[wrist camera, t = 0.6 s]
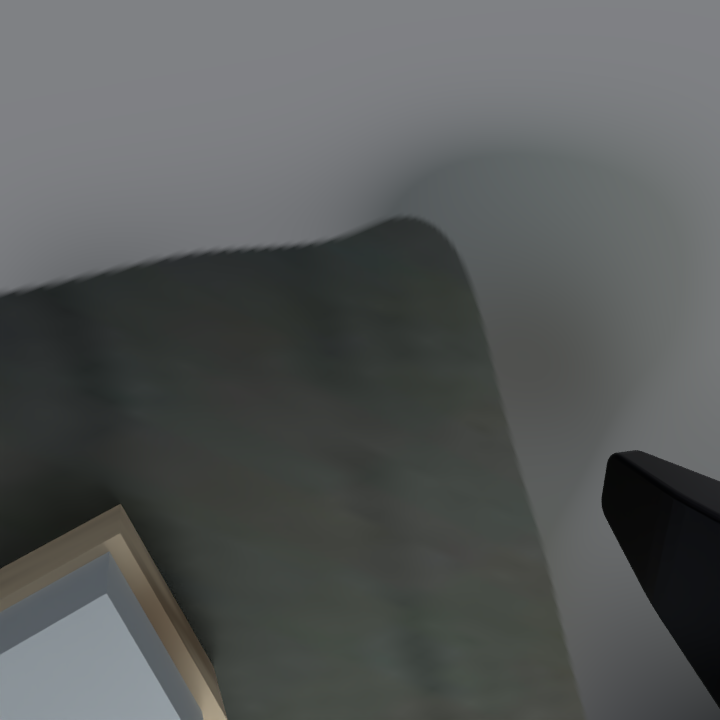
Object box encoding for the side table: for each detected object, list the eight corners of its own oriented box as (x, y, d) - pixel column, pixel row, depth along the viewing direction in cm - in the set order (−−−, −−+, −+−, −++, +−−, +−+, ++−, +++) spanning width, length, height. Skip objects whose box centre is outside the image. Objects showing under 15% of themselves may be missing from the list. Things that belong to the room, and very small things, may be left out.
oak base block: (212, 662, 22) (227, 720, 19) (23, 784, 20) (4, 871, 17) (120, 501, 21) (119, 533, 18) (-90, 614, 19) (-134, 673, 16)
